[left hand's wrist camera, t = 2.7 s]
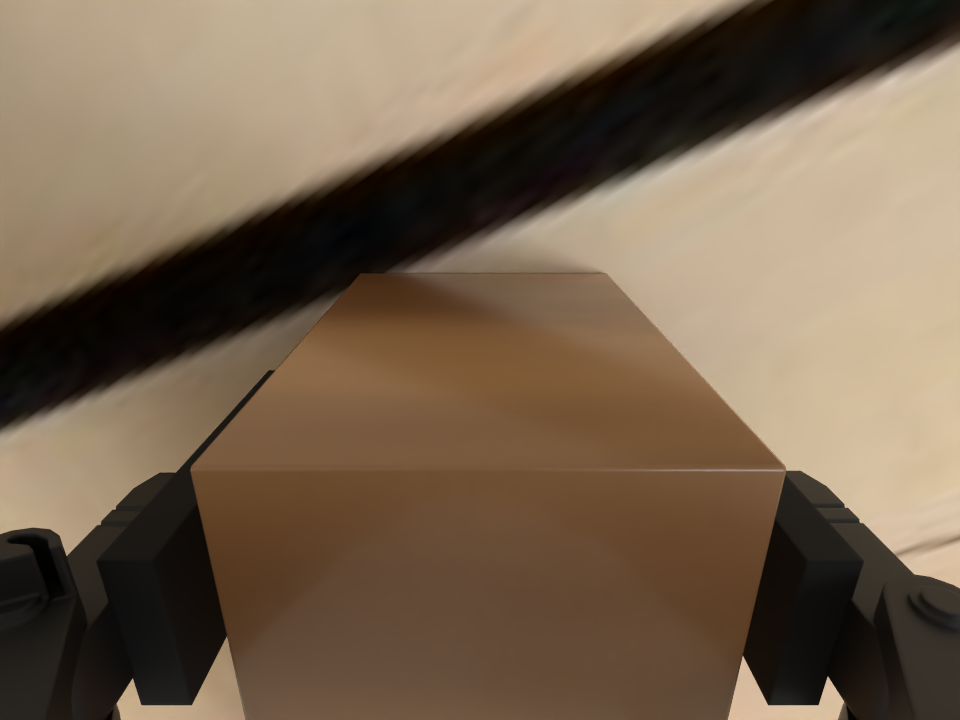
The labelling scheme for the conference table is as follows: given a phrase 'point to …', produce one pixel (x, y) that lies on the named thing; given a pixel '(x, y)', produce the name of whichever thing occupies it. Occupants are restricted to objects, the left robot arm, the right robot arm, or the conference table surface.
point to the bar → (487, 512)
